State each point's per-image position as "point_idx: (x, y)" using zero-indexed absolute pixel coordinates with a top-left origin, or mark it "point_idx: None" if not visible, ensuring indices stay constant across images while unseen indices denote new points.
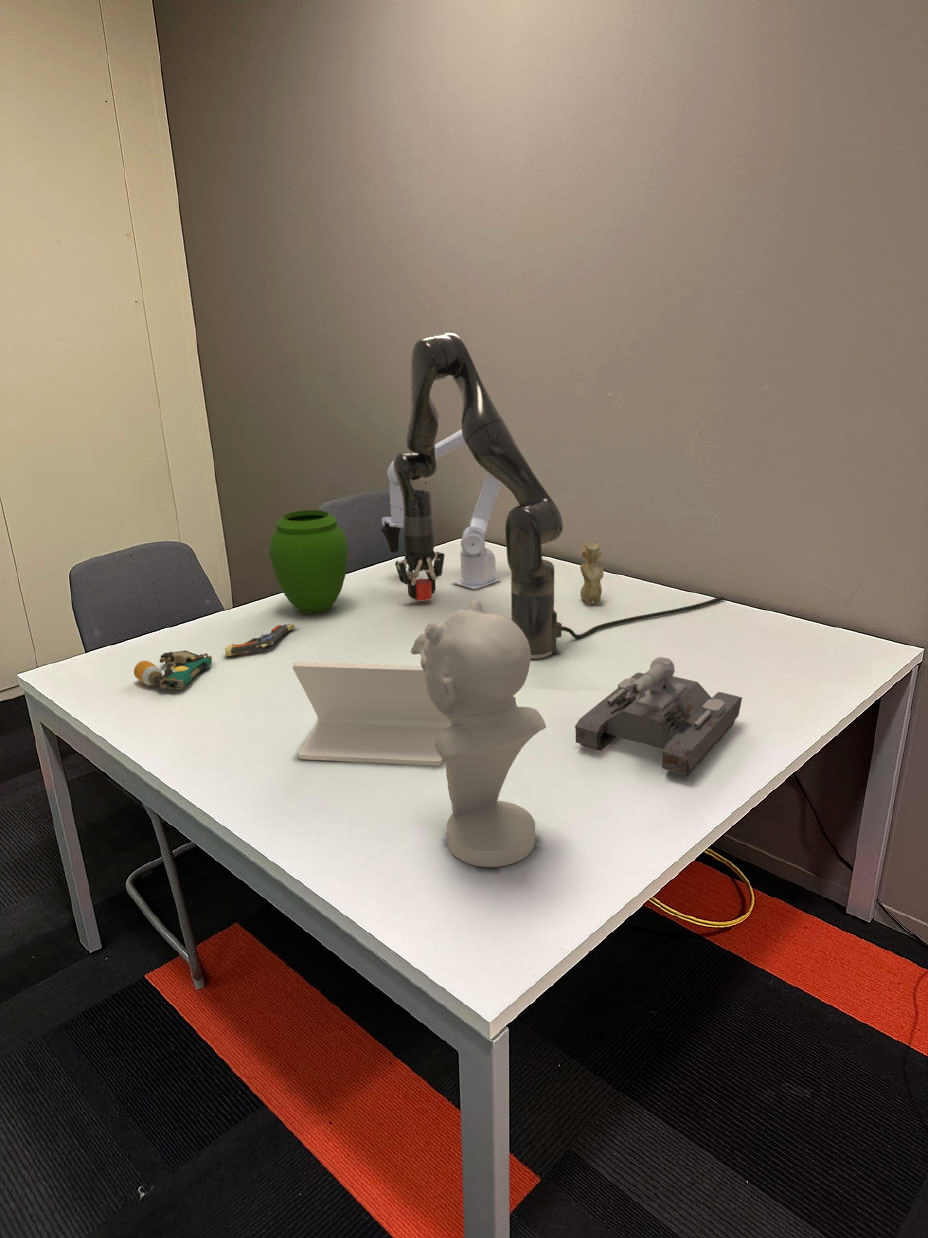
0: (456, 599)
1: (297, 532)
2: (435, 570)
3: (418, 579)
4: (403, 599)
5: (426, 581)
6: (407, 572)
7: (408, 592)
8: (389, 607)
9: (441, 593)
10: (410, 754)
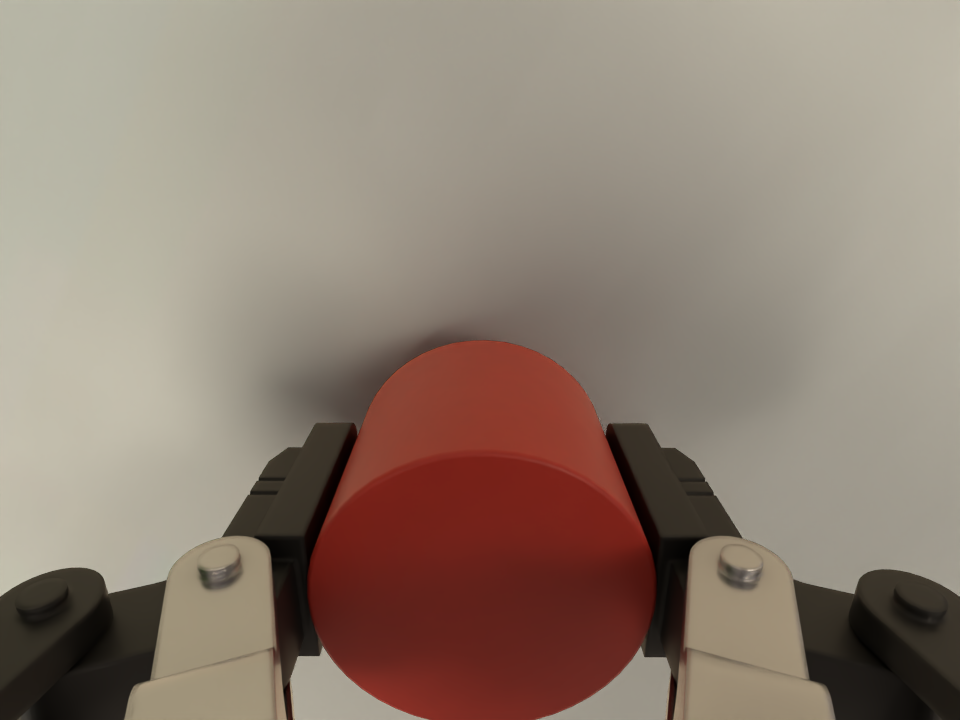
0: (799, 546)
1: None
2: (918, 695)
3: (513, 487)
4: (367, 166)
5: (548, 649)
6: (135, 707)
7: (261, 487)
8: (92, 301)
9: (855, 300)
10: None
